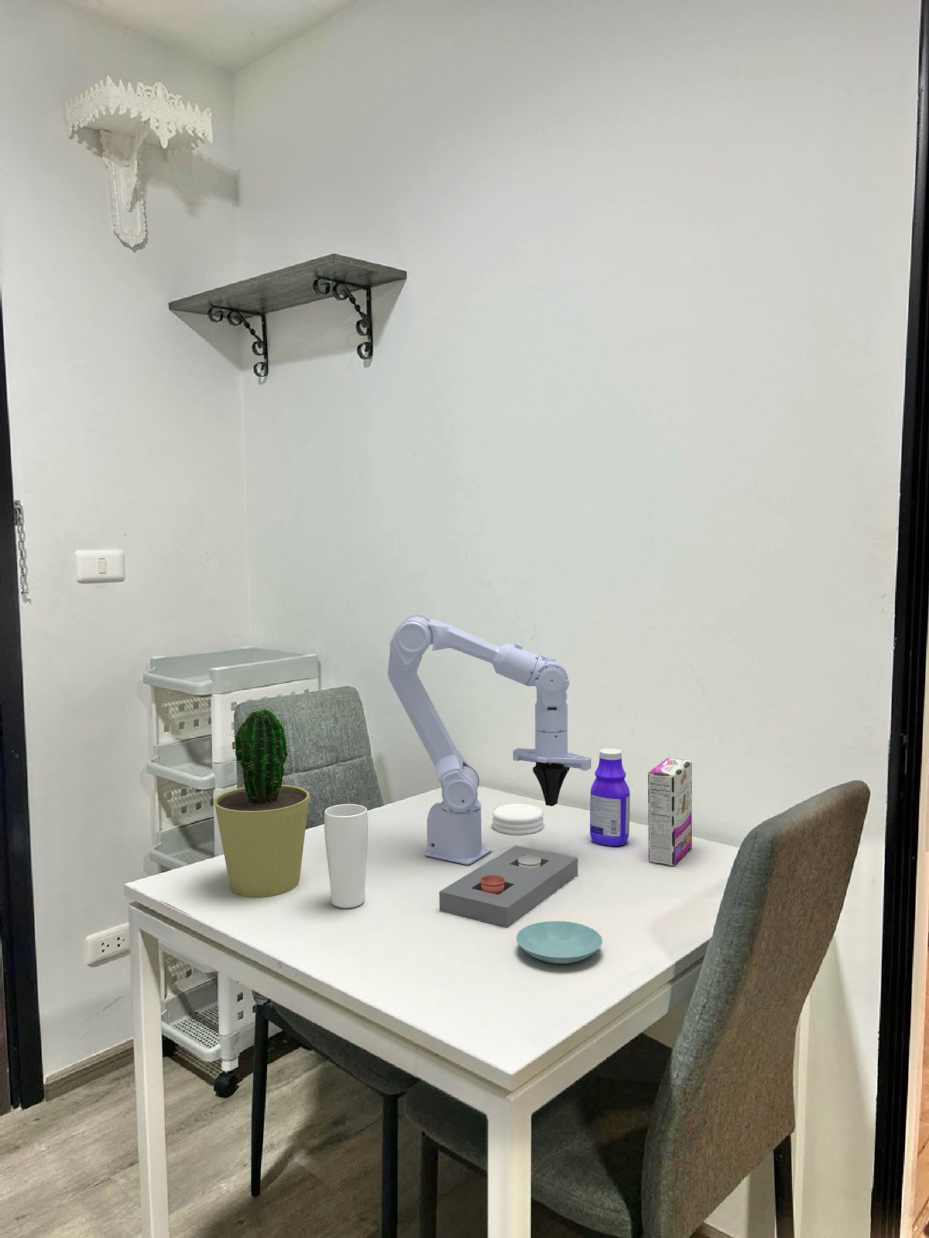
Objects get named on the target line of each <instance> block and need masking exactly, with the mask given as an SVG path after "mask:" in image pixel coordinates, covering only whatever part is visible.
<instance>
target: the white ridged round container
mask: <svg viewBox="0 0 929 1238" xmlns="http://www.w3.org/2000/svg"><path fill="white" fill-rule="evenodd" d="M491 820H492V828H493V829H494V830H495V831H496V832H498V833H501V834H505V835H511V836H512V835H513V836H525V835H533V834H536V833H538V832H540V831H541V830H543V828H544V811H543V810H542V809H541V808H540V807H538V806H536V805H533V804H526V803H525V804H524V803H510V804H504V805H500V806H497V807H496V808H494V809H493V811H492V819H491Z"/></svg>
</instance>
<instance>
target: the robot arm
mask: <svg viewBox="0 0 929 1238" xmlns="http://www.w3.org/2000/svg"><path fill="white" fill-rule="evenodd" d="M391 637H392V638H391V639H390V641H389V658H388V665H387V667H388V668H387V677H388V681H389V682H390V684H391V686H392V688H393V689H394V691H395V693H396V696H397V697H398V699H399V701H400V703H401V705H402V707H403V709H404V711H405V713H406V714H407V716H408V718H409V720H410V722H411V724H412V726H413V728H414V730H415V732H416V733H417V735H418V737H419V739H420V741H421V744H423V747H424V748H425V750H426V752H427V753H426V754H427V755H428V756H429V758H430V760H431V762H432V764H433V766H434V770H435V775H436V777H437V780H438V783H440V787H441V798H442V801H441V802H436V803H434V804H433V805H432V806H431V807H430V809H429V811H428V815H427V818H426V836H427V837H426V839H427V840H426V843H427V844H426V847H427V848H426V849H427V850H426V852H425V853H424V856H427V857H430V858H435V859H438V860H442V861H443V860H444V861H449V862H453V863H456V864H457V863H458V864H463V865H467V866H469V865H471V864H473V863H475V862H476V861H479V860H480V859H482V858H484V857H485V856H486V855H488V854H490V853H491V852H492V849H491V848H488V847H483V846H482V840H483V839H482V803H481V801H480V800H479V799H478V795H479V793H478V792H479V791H478V789H479V786H480V777H479V774H478V772H477V771H476V769H475V768H474V767H473V766H472V765H470V764H468V762H467V761H466V760H465V758H464V757H463V754H462V753H460V751H459V750H458V749H457V747H456V746H455V744H454V742H453V740H452V738H451V735H450V734H449V732H448V730H447V729H446V726H445V724H444V722H443V721H442V718H441V717H440V715H439V712H438V711H437V709H436V707H435V705H434V704H433V703H434V702H432V700H431V698H430V695H429V693H428V692H427V690H426V688H425V686H424V684H423V682H422V680H421V678H420V677H419V675H418V671H419V670H418V669H419V667H420V663H421V661H422V658H423V655H425V653H426V651H427V650H428V649H429V647H430V646H431V645H432V651H433V652H435V651H439V650H447V649H453V650H455V651H458V652H461V653H463V654H466V655H468V656H472V657H474V658H476V659H480V660H482V661H484V662H487V663H490V664H491V665H492V667H493V669H494V671H495V673H496V674H497V675H499V676H501V677H505V678H507V679H509V680H512V681H514V682H516V683H519V684H522V685H524V686H526V687H535V689H536V702H535V703H534V720H535V721H534V724H535V725H534V728H535V729H534V747H535V748H523V747H522V748H520V747H517V748H515V749H513V750H512V760H513V761H515V762H519V761H524V762H530V763H535V764H534V765H535V766H533V767H532V772H533V774H534V776H535V778H536V779H537V781H538V783H539V786H540V788H541V791H542V795H543V799H544V802H545V806H548V807H554V806H555V805H557V804H558V802H559V796H560V794H561V793H560V792H561V789H562V786H563V784H564V781H565V779H566V777H567V774H568V772H569V771H570V768H573V769H580V770H581V771H586V772H587V771H589V770H591V769H592V757H589V756H584V755H579V754H577V753H576V754H575V753H573V752H568V746H569V745H568V743H569V742H568V738H569V737H568V733H569V732H568V729H569V728H568V726H569V725H568V723H569V721H568V719H569V718H568V714H569V713H568V707H569V706H568V702H567V700H568V694H567V691H568V689H569V686H570V680H569V676H568V673H567V670H566V668H565V667H564V666H563V665H562V664H561V663H560V662H558V661H557V660H556V659H554V658H548V656H547V655H545V654H541V655H538V654H535V653H534V652H530V651H528V650H526V649H524V648H523V645H522V644H521V643H518V642H515V643H514V644H511V643H505V644H503V645H500V646H498V645H495V644H493V643H491V642H489V641H487V640H484V639H482V638H480V637H478V636H476V635H473V634H471V633H469V632H467V631H464V630H462V629H461V628H458V627H456V626H455V625H452V624H449V623H447V622H446V623H445V622H443V621H440V620H438V619H433V618H431V619H429V618H428V617H426V616H424V615H420V614H414V615H410V616H408V617H407V618H405V620H403V622H401V623H400V624H399V625H398V626H397V627H396V629H395V631H394V633H393V635H392V636H391Z"/></svg>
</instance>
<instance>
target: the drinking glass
mask: <svg viewBox="0 0 929 1238" xmlns="http://www.w3.org/2000/svg"><path fill="white" fill-rule="evenodd" d="M323 818H324V819H323V820H324V821H323V822H324V823H323V824H324V825H323V827H324V828H323V829H324V840H325V843H324V844H325V849H326V850H325V851H326V852H325V853H326V859H327V868H328V869H327V871H328V877H329V879H328V880H329V886H330V887H329V888H330V901H331V904H332V905H333V906H334V907H337V908H339V909H340V908H341V909H352V908H356V907H360V906H361V905H363V904H364V903H365V899H366V874H367V860H368V858H367V857H368V844H369V843H368V841H369V818H368V808H367V807H366V806H364V805H360V804H355V803H345V804H344V803H343V804H336V805H332V806H329V807H327V808H326V809H325V810H324V817H323Z"/></svg>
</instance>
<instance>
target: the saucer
mask: <svg viewBox="0 0 929 1238" xmlns="http://www.w3.org/2000/svg"><path fill="white" fill-rule="evenodd" d="M516 942H517V944H518V945H519V946H520V947H521V949H523V951H524V952H526V953H528V954H529V955H530V956H532V957H533V958H535V959H537V960H540V961H542V962H544V963H545V962H546V963H548V964H554V965H556V964H557V965H568V964H573V963H578V962H580V961H583V960H586V959H587V958H588V957H590V956H592V955H593V954H594V953H595V952H597V951H598V950H599V948H600V947H601V946H602V945H603V938H602V936H601V934H600V933H599V932H598V931H597V930H596V929H594V928H591V927H590V926H588V925H584V924H582V923H577V922H572V921H566V920H565V921H563V920H549V921H548V920H547V921H540V922H535V923H532V924H529V925H526V926H525V927H523V928H521V929H520V930H519V931H518V933H517V934H516Z"/></svg>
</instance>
